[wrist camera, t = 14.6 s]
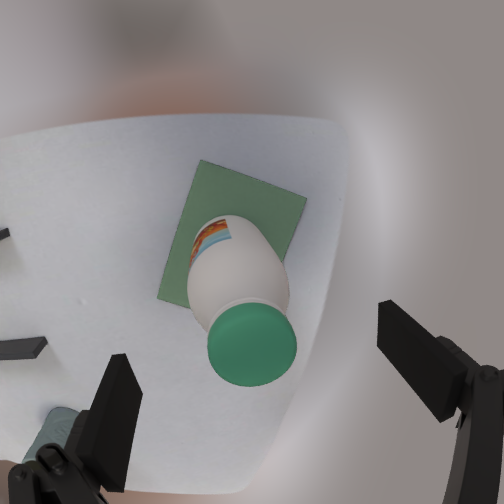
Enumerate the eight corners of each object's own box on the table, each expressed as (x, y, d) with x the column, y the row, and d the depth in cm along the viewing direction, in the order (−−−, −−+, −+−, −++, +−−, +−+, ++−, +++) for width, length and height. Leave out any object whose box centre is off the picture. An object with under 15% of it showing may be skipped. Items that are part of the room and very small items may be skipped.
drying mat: (200, 159, 32) (200, 159, 32) (306, 198, 34) (306, 198, 34) (157, 297, 35) (156, 298, 35) (255, 325, 38) (255, 326, 37)
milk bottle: (249, 202, 33) (305, 258, 14) (273, 267, 36) (340, 378, 17) (181, 230, 33) (148, 319, 14) (209, 292, 36) (214, 425, 16)
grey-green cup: (96, 412, 39) (77, 471, 27) (105, 451, 41) (92, 505, 30) (39, 397, 37) (11, 450, 26) (53, 438, 40) (33, 487, 28)
